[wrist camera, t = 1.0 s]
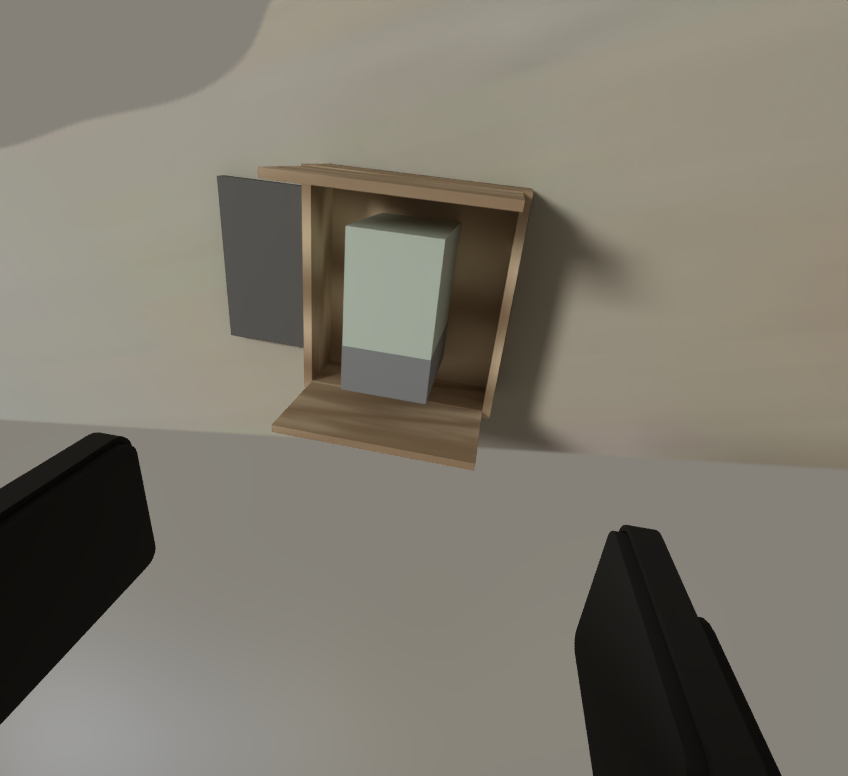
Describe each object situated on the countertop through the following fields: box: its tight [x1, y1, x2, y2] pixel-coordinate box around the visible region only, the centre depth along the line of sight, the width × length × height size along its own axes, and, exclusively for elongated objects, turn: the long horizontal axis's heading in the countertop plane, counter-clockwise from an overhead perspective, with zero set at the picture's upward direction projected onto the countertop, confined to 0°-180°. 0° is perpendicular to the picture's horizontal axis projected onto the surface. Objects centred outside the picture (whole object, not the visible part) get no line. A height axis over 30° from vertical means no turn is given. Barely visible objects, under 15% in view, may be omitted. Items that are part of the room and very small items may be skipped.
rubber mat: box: [217, 175, 304, 347], centre depth 35 cm, size 12×7×1 cm, turn 174°
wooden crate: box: [258, 164, 533, 470], centre depth 30 cm, size 15×14×11 cm
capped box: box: [341, 212, 461, 404], centre depth 31 cm, size 10×6×8 cm, turn 174°
